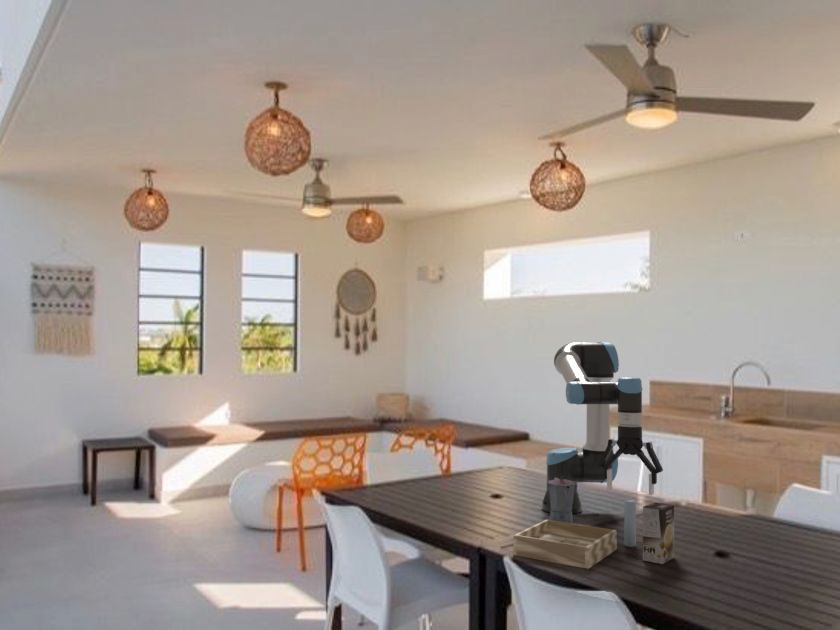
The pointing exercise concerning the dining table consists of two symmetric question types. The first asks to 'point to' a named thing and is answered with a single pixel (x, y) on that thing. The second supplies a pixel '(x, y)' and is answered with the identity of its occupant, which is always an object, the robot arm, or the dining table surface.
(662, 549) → the coffee box
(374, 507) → the dining table surface
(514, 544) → the box
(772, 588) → the dining table surface
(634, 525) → the peg
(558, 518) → the moka pot
